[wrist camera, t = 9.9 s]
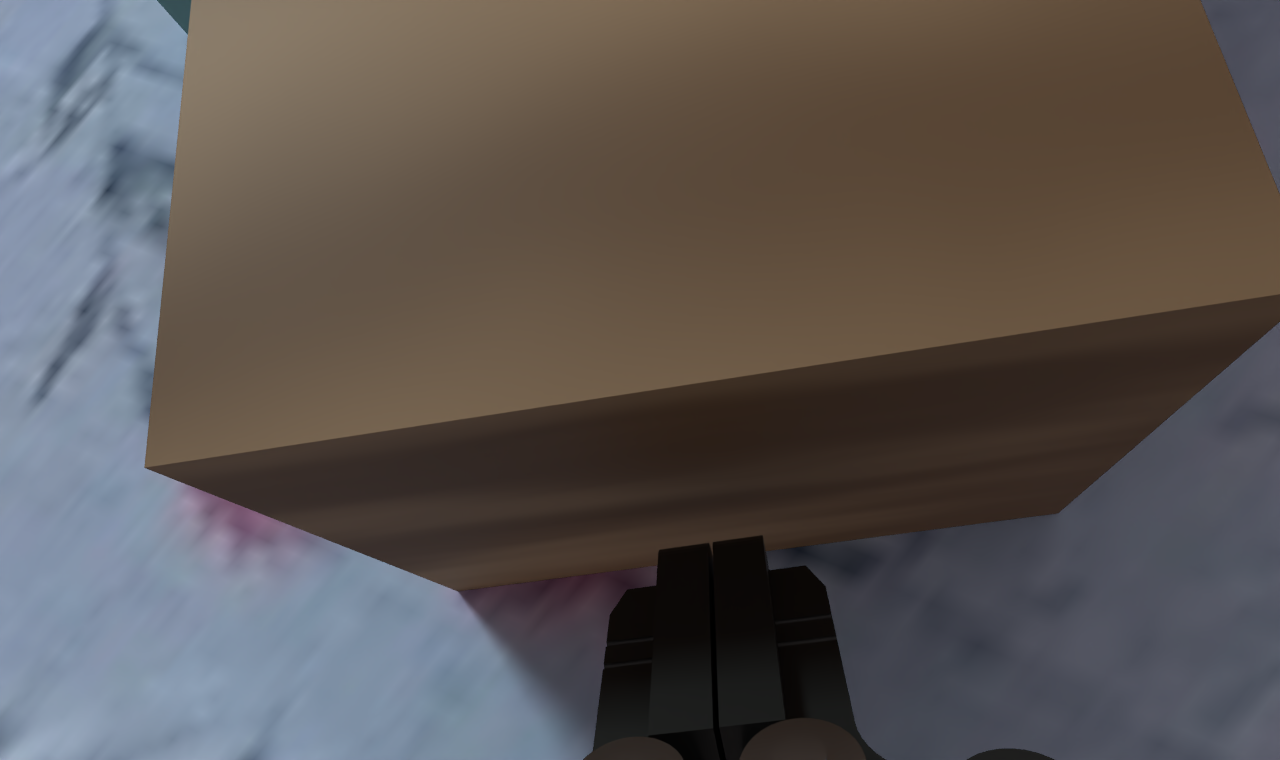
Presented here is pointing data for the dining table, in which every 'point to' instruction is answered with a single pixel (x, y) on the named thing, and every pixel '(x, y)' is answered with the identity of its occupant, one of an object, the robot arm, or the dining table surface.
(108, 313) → the dining table surface
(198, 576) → the dining table surface
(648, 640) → the robot arm
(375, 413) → the walnut block
